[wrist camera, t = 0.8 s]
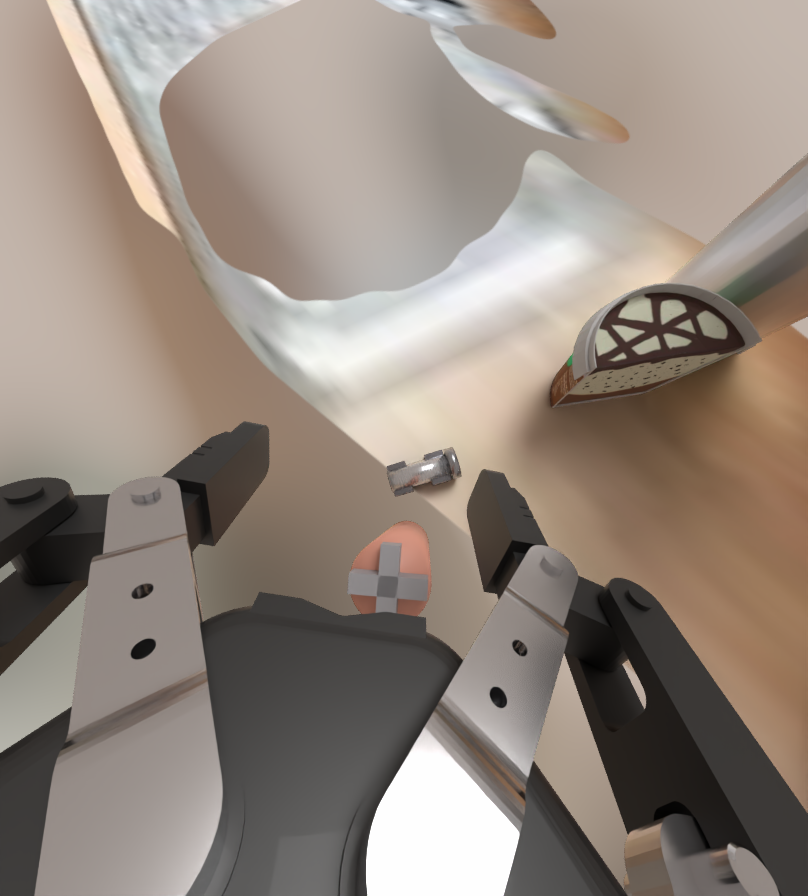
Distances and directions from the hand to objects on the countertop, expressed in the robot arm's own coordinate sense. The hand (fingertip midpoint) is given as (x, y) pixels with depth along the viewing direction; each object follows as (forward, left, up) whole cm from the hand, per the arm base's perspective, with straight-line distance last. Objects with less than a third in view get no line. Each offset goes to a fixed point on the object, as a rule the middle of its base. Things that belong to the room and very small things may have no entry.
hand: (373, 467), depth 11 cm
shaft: (-2, -2, -20) cm, 20 cm away
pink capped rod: (0, +5, -20) cm, 20 cm away
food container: (-18, -13, -20) cm, 30 cm away
